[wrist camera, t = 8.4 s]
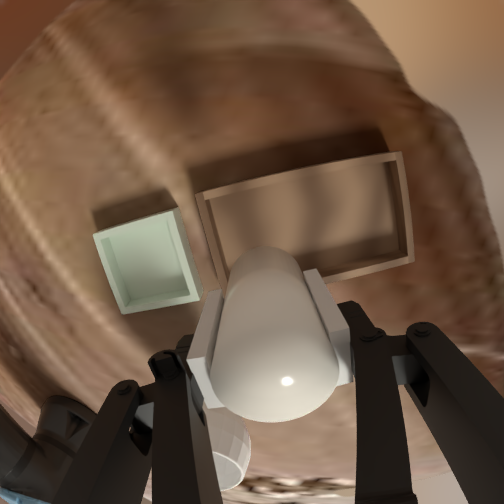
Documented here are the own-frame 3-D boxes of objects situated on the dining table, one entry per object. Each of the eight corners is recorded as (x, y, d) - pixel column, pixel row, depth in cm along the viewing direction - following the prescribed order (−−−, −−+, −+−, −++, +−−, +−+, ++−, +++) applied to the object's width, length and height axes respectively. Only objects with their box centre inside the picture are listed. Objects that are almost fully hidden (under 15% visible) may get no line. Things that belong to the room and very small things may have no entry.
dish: (129, 305, 35) (122, 314, 33) (102, 229, 33) (92, 234, 30) (203, 290, 34) (199, 300, 32) (178, 206, 32) (172, 210, 29)
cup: (163, 387, 39) (132, 469, 25) (193, 336, 36) (163, 426, 22) (229, 417, 40) (220, 501, 26) (267, 372, 38) (271, 465, 23)
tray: (228, 294, 34) (226, 305, 32) (200, 191, 31) (194, 194, 28) (403, 253, 33) (414, 261, 30) (390, 151, 29) (401, 151, 27)
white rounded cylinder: (239, 320, 21) (230, 429, 11) (221, 255, 20) (192, 339, 10) (307, 305, 21) (342, 408, 11) (294, 238, 19) (333, 311, 10)
